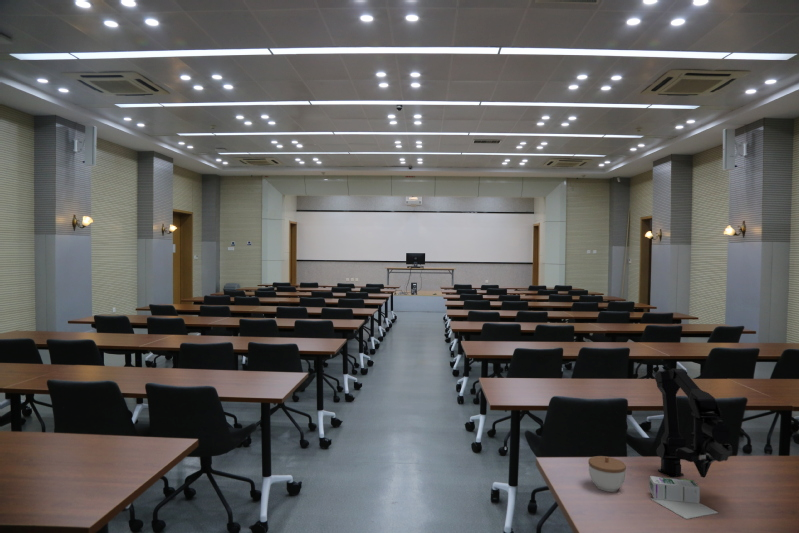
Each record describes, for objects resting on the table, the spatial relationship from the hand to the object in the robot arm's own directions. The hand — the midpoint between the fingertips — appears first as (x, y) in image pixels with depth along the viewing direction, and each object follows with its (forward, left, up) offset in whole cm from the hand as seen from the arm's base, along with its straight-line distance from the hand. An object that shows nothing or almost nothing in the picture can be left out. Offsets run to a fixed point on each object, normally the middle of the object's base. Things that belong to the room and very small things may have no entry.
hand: (703, 477), depth 170 cm
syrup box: (0, -2, -5) cm, 5 cm away
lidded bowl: (-18, -25, -8) cm, 32 cm away
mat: (+1, -10, -8) cm, 13 cm away
